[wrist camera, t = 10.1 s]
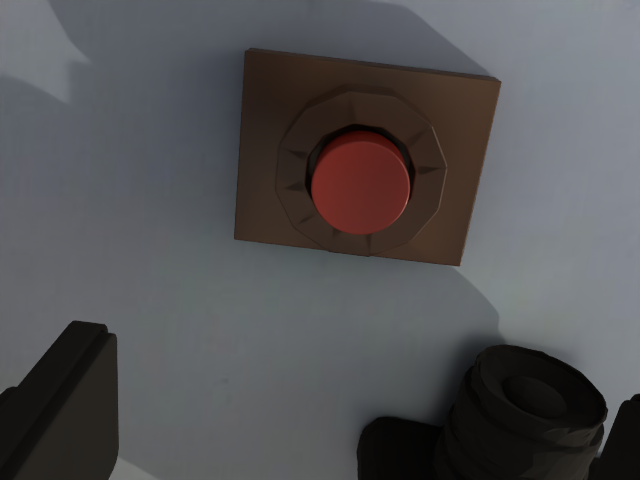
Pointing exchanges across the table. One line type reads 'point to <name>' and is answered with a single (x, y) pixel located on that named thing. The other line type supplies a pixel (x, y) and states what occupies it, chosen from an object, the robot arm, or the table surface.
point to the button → (360, 183)
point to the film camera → (497, 426)
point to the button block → (366, 115)
